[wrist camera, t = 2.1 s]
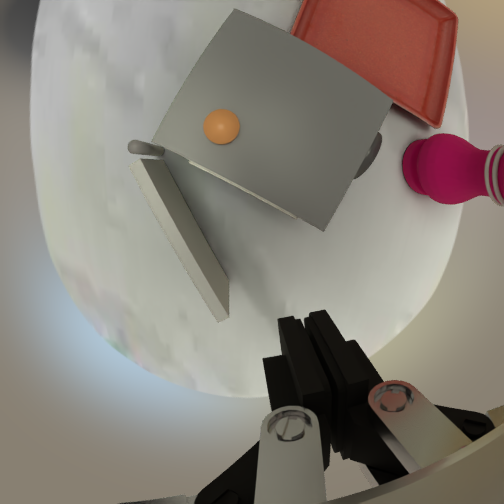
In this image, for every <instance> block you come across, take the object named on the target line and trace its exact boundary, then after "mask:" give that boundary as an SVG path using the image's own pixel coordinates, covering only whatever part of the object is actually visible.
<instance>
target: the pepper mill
mask: <svg viewBox="0 0 504 504" xmlns="http://www.w3.org/2000/svg"><path fill="white" fill-rule="evenodd" d="M403 173H404V176H405V179H406V181H407V183H408V185H409V186H410V187H411V188H412V189H413V190H414V191H415V192H417V193H420V194H424V195H428V196H429V197H430V198H432V199H433V200H435V201H437V202H439V203H442V204H458V203H463V202H465V201H468V200H470V199H472V198H474V197H477V196H481V195H482V196H489V197H490V198H491V199H492V201H493V202H494V203H496V204H497V205H499V206H504V145H496V146H494V147H493V148H492V149H491V150H489V151H487V150H480V149H478V148H476V147H474V146H473V145H472V144H470V143H469V142H467V141H466V140H464V139H462V138H460V137H458V136H455V135H452V134H444V133H442V134H436V135H433V136H431V137H430V138H429V139H421V140H417V141H414V142H413V143H411V144H410V145H409V147H408V148H407V149H406V151H405V154H404V157H403Z"/></svg>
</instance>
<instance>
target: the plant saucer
mask: <svg viewBox="0 0 504 504" xmlns="http://www.w3.org/2000/svg"><path fill="white" fill-rule="evenodd" d="M457 30H458V17H457V16H456V14H455V13H454V12H453V11H452V10H450V9H449V8H448V7H446V6H445V5H444V4H442V3H441V2H440V1H438V0H303V2H302V5H301V7H300V10H299V12H298V15H297V17H296V20H295V22H294V25H293V27H292V30H291V32H290V34H291V35H293V36H295V37H297V38H299V39H301V40H302V41H304V42H306V43H308V44H310V45H311V46H313V47H315V48H317V49H318V50H320V51H322V52H323V53H325V54H327V55H328V56H330V57H332V58H333V59H335V60H336V61H338V62H340V63H341V64H343V65H344V66H346V67H347V68H349V69H350V70H352V71H353V72H355V73H356V74H358V75H359V76H361V77H362V78H364V79H365V80H367V81H368V82H369V83H371V84H372V85H374V86H375V87H376V88H378V89H379V90H380V91H382V92H383V93H384V94H386V95H387V96H388V97H390V98H391V99H392V100H393V103H395V104H397V105H398V106H400V107H402V108H403V109H405V110H407V111H408V112H410V113H412V114H413V115H415V116H416V117H418V118H420V119H421V120H423V121H424V122H426V123H427V124H429V125H430V126H432V127H433V128H436V129H438V128H440V127H441V125H442V121H443V116H444V112H445V108H446V102H447V98H448V92H449V87H450V82H451V75H452V70H453V63H454V56H455V48H456V39H457Z"/></svg>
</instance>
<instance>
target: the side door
mask: <svg viewBox="0 0 504 504" xmlns="http://www.w3.org/2000/svg"><path fill="white" fill-rule="evenodd" d="M128 151H129V152H130V153H132V154H141V155H151V156H161V155H162V154H163V153H164V149H163V148H162V147H161V146H158V145H154V144H150V143H146V142H142V141H138V140H132V141H130V142H129V144H128ZM129 168H130V170H131V172H132V174H133V175H134V177H135V179H136V181H137V183H138V185H139V187H140V189H141V191H142V193H143V195H144V196H145V198H146V200H147V202H148V204H149V206H150V208H151V209H152V211H153V213H154V215H155V217H156V219H157V220H158V222H159V224H160V226H161V228H162V229H163V231H164V233H165V235H166V237H167V238H168V240H169V242H170V244H171V245H172V247H173V249H174V251H175V252H176V254H177V256H178V258H179V259H180V261H181V263H182V264H183V266H184V268H185V270H186V271H187V273H188V275H189V276H190V278H191V280H192V281H193V283H194V285H195V286H196V288H197V290H198V291H199V293H200V295H201V296H202V298H203V299H204V301H205V303H206V304H207V306H208V308H209V309H210V311H211V312H212V314H213V316H214V317H215V319H216V320H217V322H218V323H219V322H221V321H223V320H225V319H227V318H229V280H228V278H227V277H226V275H225V273H224V271H223V270H222V268H221V266H220V264H219V262H218V261H217V259H216V257H215V255H214V253H213V252H212V250H211V248H210V246H209V244H208V243H207V241H206V239H205V237H204V235H203V234H202V232H201V230H200V228H199V226H198V224H197V223H196V221H195V219H194V217H193V215H192V213H191V212H190V210H189V208H188V206H187V204H186V202H185V200H184V198H183V197H182V195H181V193H180V191H179V189H178V187H177V185H176V183H175V182H174V180H173V178H172V176H171V174H170V172H169V170H168V168H167V166H166V164H165V162H164V161H163V160H154V159H139V160H137V161H136V162H134V163H132V164H131V165H129Z"/></svg>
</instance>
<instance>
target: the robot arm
mask: <svg viewBox="0 0 504 504" xmlns="http://www.w3.org/2000/svg"><path fill="white" fill-rule="evenodd" d="M304 325H305V328H304V326H303V324H302V322H301V319H295V318H294V316H289V317H284V318H278V328H279V335H280V343H281V351H282V355H279V356H274V357H268V358H263V365H264V370H265V376H266V382H267V388H268V394H269V399H270V405H271V410H272V412H271V413H270V414H268V415H267V416H266V417H265V418H264V420H263V421H262V425H261V432H260V440H259V441H258V442H257V443H256V444H255V445H254V446H253V447H252V448H251V449H249V450H248V451H247V452H246V453H245V454H244V455H243V456H242V457H241V458H239V459H238V460H237V461H236V462H235V463H234V464H233V465H231V466H230V467H229V468H228V469H227V470H226V471H224V472H223V473H222V474H221V475H220V476H219V477H217V478H216V479H215V480H213V481H212V482H211V483H210V484H209V485H207V486H206V487H205V488H204V489H202V490H201V492H200V493H199V494H198V495H195V496H190V497H186V495H179V496H173V497H167V498H160V499H153V500H146V501H137V502H126V503H119V504H504V405H503V406H500V407H497V408H495V409H492V410H489V411H487V412H486V415H484V414H481V413H478V412H473V411H467V410H461V409H455V408H449V407H444V406H438V405H434V404H432V403H431V402H430V401H429V400H428V399H427V398H426V397H425V396H424V395H423V394H422V393H421V392H419V391H418V390H417V389H416V388H415V387H414V386H412V385H411V384H410V383H407V382H404V381H398V380H391V381H385V382H384V381H383V380H382V378H381V377H380V375H379V374H378V372H377V371H376V369H375V368H374V366H373V365H372V363H371V362H370V360H369V359H368V358H367V356H366V355H365V353H364V352H363V350H362V349H361V347H360V346H359V344H358V343H357V342H356V341H355V340H350V341H345V339H344V338H343V336H342V335H341V333H340V331H339V330H338V328H337V327H336V325H335V324H334V322H333V321H332V319H331V318H330V316H329V314H328V313H327V311H326V310H320V311H315V312H310V313H309V317H306V318H304ZM330 444H331V445H332V448H333V451H334V452H335V453H337V452H340V453H341V456H342V459H343V460H344V459H348V458H350V460H353V461H357V462H359V467H360V469H361V471H362V472H363V474H364V476H365V477H366V479H367V480H368V482H369V483H370V485H371V486H372V488H371V489H368V490H365V491H362V492H359V493H355V494H352V495H349V496H345V497H341V498H338V499H334V500H330V501H327V500H326V489H325V477H324V471H325V470H326V469H327V467H328V466H329V462H330V446H331V445H330Z"/></svg>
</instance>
